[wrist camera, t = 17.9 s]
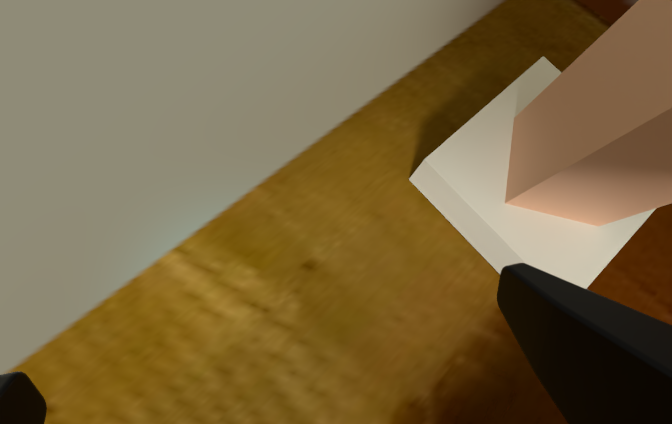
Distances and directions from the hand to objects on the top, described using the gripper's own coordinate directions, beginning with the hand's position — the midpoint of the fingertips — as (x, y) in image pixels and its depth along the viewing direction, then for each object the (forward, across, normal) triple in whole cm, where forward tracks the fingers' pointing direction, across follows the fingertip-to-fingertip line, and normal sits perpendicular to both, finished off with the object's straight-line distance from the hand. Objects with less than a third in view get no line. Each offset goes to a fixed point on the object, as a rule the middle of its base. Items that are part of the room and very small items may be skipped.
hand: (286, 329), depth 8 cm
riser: (+13, -15, +6) cm, 21 cm away
